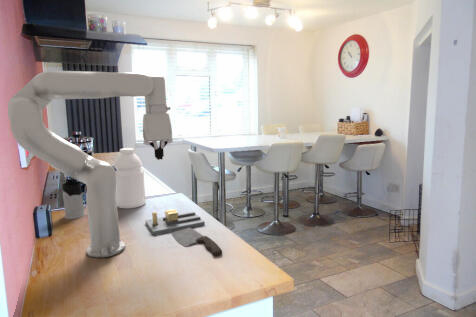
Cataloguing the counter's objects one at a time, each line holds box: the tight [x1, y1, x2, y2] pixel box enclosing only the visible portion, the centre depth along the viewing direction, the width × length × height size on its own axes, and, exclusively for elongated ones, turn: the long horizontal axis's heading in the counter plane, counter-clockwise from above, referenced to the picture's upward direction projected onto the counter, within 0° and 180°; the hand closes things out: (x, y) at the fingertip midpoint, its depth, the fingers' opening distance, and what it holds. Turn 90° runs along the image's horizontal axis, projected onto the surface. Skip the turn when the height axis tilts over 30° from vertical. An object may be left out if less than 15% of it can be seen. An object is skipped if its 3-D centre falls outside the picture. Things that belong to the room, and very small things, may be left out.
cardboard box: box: [164, 208, 179, 222], centre depth 143 cm, size 5×4×4 cm
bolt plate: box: [145, 211, 206, 236], centre depth 144 cm, size 14×21×6 cm, turn 116°
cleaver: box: [169, 227, 223, 258], centre depth 126 cm, size 30×10×2 cm, turn 35°
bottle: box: [113, 147, 146, 209], centre depth 171 cm, size 14×14×28 cm
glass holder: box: [61, 181, 87, 220], centre depth 159 cm, size 9×14×15 cm, turn 130°
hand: (159, 158), depth 132 cm, fingers closed
